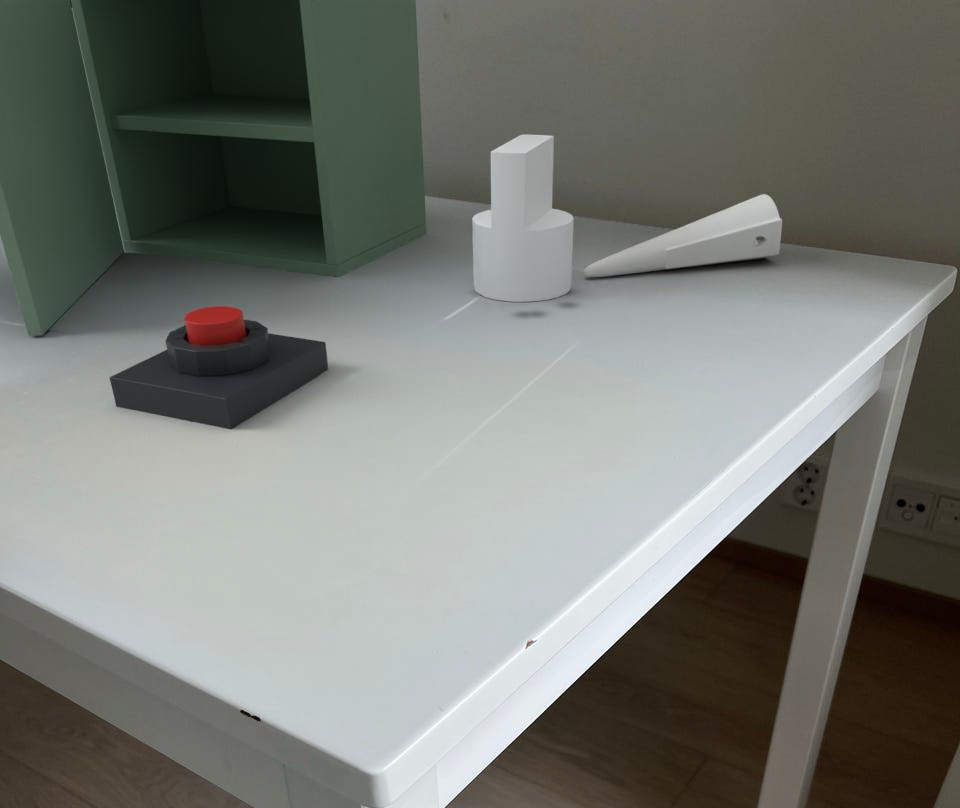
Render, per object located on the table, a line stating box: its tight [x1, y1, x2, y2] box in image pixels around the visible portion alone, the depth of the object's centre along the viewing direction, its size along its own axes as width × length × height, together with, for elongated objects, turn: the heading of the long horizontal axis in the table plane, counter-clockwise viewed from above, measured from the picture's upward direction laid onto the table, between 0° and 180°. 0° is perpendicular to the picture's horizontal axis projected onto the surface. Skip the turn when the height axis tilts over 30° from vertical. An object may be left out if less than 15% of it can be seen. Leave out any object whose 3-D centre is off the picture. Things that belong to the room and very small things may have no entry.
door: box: [0, 0, 125, 337], centre depth 86 cm, size 7×26×24 cm, turn 2°
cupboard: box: [70, 0, 427, 278], centre depth 100 cm, size 18×26×24 cm
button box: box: [109, 319, 329, 430], centre depth 72 cm, size 12×10×4 cm
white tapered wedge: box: [583, 193, 783, 278], centre depth 96 cm, size 6×6×19 cm
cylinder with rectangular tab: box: [471, 134, 575, 303], centre depth 89 cm, size 9×9×12 cm
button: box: [184, 305, 246, 345], centre depth 70 cm, size 4×4×2 cm
